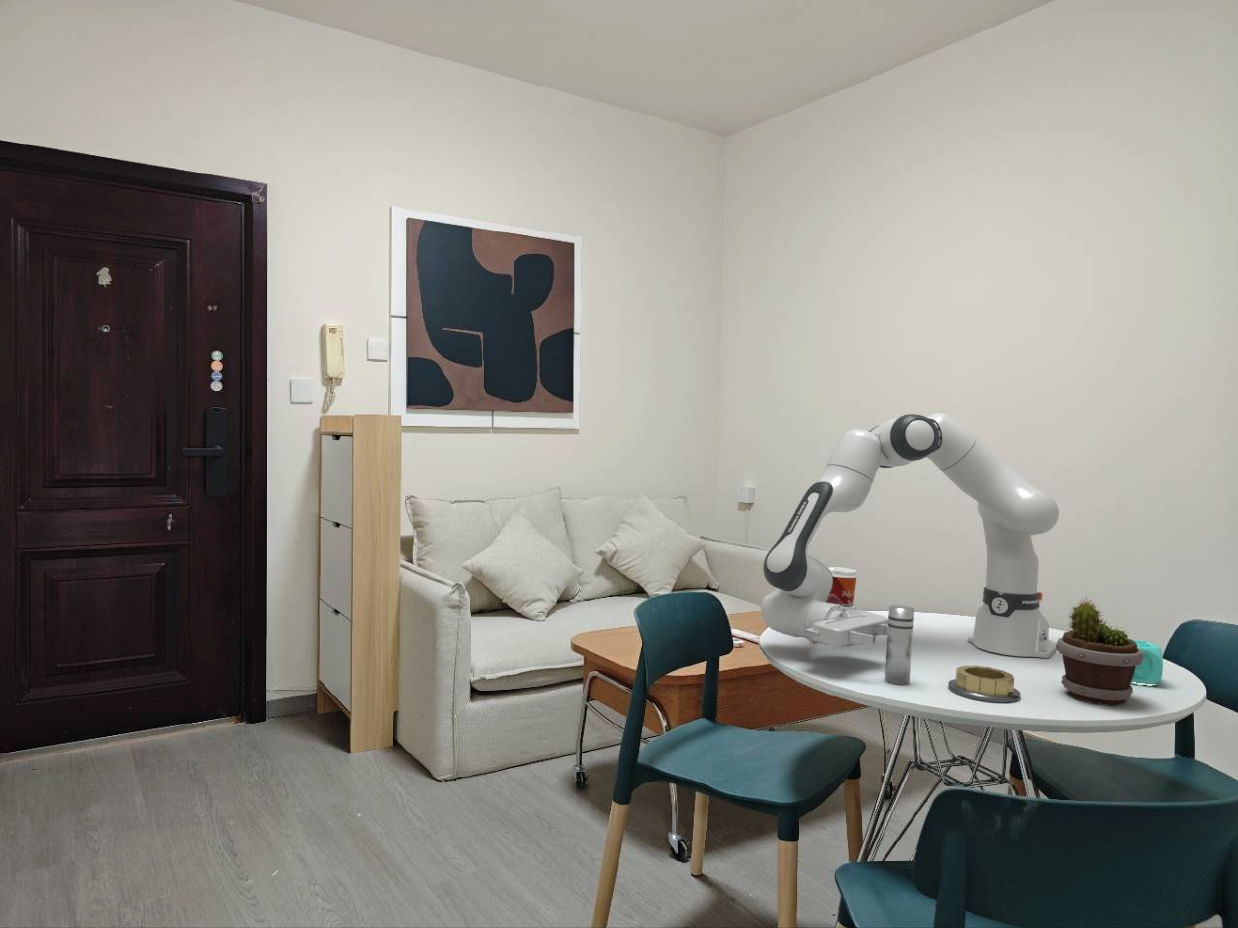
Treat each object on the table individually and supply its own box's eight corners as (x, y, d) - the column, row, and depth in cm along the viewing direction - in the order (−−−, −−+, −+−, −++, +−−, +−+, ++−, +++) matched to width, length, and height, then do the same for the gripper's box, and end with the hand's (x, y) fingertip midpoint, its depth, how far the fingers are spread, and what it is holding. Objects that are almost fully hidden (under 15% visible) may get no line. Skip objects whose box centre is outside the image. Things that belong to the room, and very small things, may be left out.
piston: (892, 676, 175) (896, 604, 175) (914, 682, 172) (918, 608, 171) (879, 680, 172) (884, 606, 171) (902, 686, 168) (906, 611, 168)
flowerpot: (1108, 686, 175) (1115, 590, 174) (1157, 711, 160) (1165, 605, 159) (1038, 684, 175) (1045, 587, 174) (1080, 708, 159) (1088, 602, 158)
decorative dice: (1152, 678, 183) (1155, 641, 183) (1161, 688, 176) (1164, 650, 175) (1110, 673, 186) (1112, 636, 186) (1117, 683, 178) (1119, 645, 178)
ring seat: (966, 678, 176) (967, 660, 176) (1031, 694, 167) (1032, 675, 167) (936, 689, 167) (937, 670, 167) (1003, 707, 158) (1004, 687, 158)
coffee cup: (849, 633, 213) (852, 573, 212) (817, 627, 217) (820, 569, 216) (858, 627, 220) (862, 569, 219) (827, 622, 224) (830, 565, 224)
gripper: (799, 614, 177) (859, 628, 167) (853, 604, 191) (911, 615, 181) (798, 645, 177) (857, 660, 167) (852, 632, 191) (909, 645, 181)
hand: (886, 637), depth 174 cm, fingers open, 8 cm apart
